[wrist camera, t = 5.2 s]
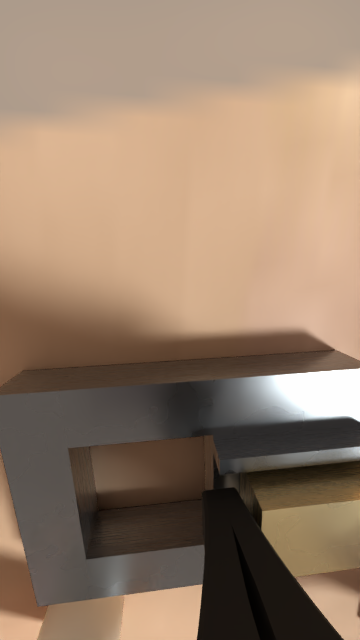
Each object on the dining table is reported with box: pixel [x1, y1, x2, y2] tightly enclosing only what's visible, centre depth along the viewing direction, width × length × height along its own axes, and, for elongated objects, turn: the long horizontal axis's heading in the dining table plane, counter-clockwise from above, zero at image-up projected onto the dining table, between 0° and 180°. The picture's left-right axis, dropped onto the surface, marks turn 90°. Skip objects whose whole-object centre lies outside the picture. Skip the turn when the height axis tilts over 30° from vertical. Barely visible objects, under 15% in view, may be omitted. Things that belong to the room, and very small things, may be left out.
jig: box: [0, 350, 360, 607], centre depth 10 cm, size 14×10×3 cm
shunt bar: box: [240, 461, 360, 577], centre depth 9 cm, size 8×3×2 cm, turn 92°
